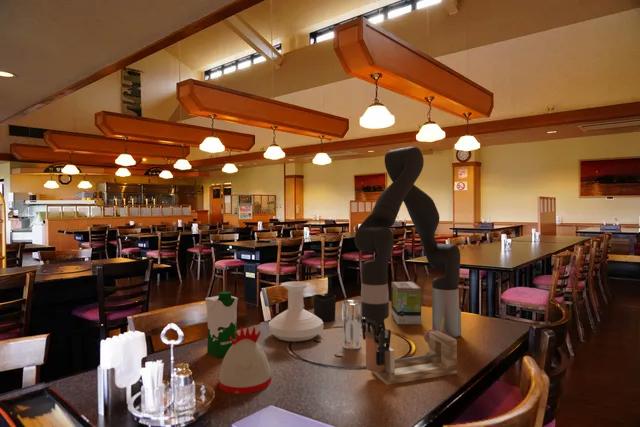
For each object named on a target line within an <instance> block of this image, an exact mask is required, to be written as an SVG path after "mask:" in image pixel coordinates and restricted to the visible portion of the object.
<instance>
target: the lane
mask: <svg viewBox="0 0 640 427" xmlns="http://www.w3.org/2000/svg"><path fill="white" fill-rule="evenodd" d="M457 341H458V340H457V339H456V338H452V337H450V336H448V335H446V334H444V333H442V332H439V331H431V332H429V345H428V348H429V349H428V350H429V353H428V355H430V354H437V353H441V357H435V358H428V359H421V360H414V361H408V362H401V363H395V373H393V374H387V373H386V372H384V371H380V372H373V371H371V373H372V374H373V375H375V376H376V377H377V378H378V379H379V380H380V381H382V382H383V383H384V384H385V386H388V385H394V384H395V385H396V384H400V383H406V382H413V381H419V380H424V379H431V378H438V377H442V376H450V375H451V376H452V375H455V374H457V373H458V351H457V350H458V346H457V345H458V342H457Z"/></svg>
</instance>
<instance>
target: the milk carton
mask: <svg viewBox="0 0 640 427" xmlns="http://www.w3.org/2000/svg"><path fill="white" fill-rule="evenodd" d="M204 299H205V305H206V315H207V316H206V319H207V320H206V323H207V324H206V325H207V328H206V329H207V343H206V344H207V348H206V350H207V351H206V352H207V354H209V355H211V356H213V357H216V358H217V359H220V358H224V357H225V355H226V353H227V351H228V350H229V348H230V347H231V346H232V345H233V343H232V342H231V339H230V337H231V338H232V339H233V340H236V339H237V338H236V334H235V332H237V333H238V331H237V330H238V328H237V322H238V321H237V307H238V301H239V298H238V297H236V296H232V291H231V290H230V291H228V290H225V291H219V292H218V295H215V296H211V297H209V296H208V297H205V298H204Z"/></svg>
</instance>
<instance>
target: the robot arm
mask: <svg viewBox="0 0 640 427" xmlns="http://www.w3.org/2000/svg"><path fill="white" fill-rule="evenodd" d="M424 160H425V159H424V155H423V153H422V150H421V149H420V148H419V147H417V146H407V147H402V148H397V149H396V148H395V149H392V150H388V151H387V152H386V153H385V156H384V166H385V170H386V173H387V174H388V176H389V178H390V181H392V182H391V184H390V185H389V186H387V187H386V188H385V189H384V190H383V191H382V192H381V193H380V195H379V196H378V197H377V199H376V202H375V204H374V206H373V208H372V210H371V213H370V214H368V216H367V217H366V218H365V219H364V220H363V221H362V223H361V224H360V225H359V227H358V228H357V229H356V232H355V234H354V244H355V247H356V248H357V249H358V250H359V252H363V253H376V256H375V258H374V259H371V260H367V261H363V262H362V264H361V287H360V288H361V289H360V302H361V315H362V318H361V332H362V339H363V340H364V343H366V336H365V331H367V332H368V331H370V332H371V333H372V335H373V342H374V343H375V347H376V364H377V365H378V366H380V365H384V364H385V351H389V347H390V346H391V337H392V336H391V335H392V331H391V329H387V328H386V323H385V320H386V319H387V318H389V316H390V304H389V303H390V298H389V297H390V294H389V293H390V292H389V284H388V283H389V282H388V281H389V280H388V278H389V277H388V274H389V273H388V269H389V263H390V258H391V254H392V250H393V246H394V243H395V242H394V240H395V237H394V234H393V231H392V229H390V228H392V227H393V226H394V225H395V222H396V220H397V217H398V214H399V212H400V209H401V208H402V207H401V206H402V205H403V203H404V205H405V208H406V209H407V212H408V215H409V217H410V219H411V221H412V224H413V226H414V227H415V230H416V233H417V234H418V238H419V239H420V240H419V241H420V242H421V245H422V248H423V251H424V255H425V257H426V261H427V263H428V264H429V266H430V267H431V268H434V269H439V270H445V274H444V275H443V276H440V277H436V278H433V279H432V281H431V282H432V283H431V289H432V290H431V295H432V296H431V297H432V298H431V299H432V301H431V303H432V304H431V306H432V307H431V308H432V310H431V311H432V312H431V313H432V315H431V316H432V320H431V321H432V325H431V326H432V327H431V328H432V329H431V330H434V329H440V328H441V322H442V318H443V316H444V323H443V329H442V330H444V331H446V332H447V333H448V334H450V336H451V337H452V338H454V339H456V338H458V337H459V336H462V309H461V308H459V307H460V306H459V298H460V297H459V294H460V293H459V290H460V288H459V286H460V284H459V283H460V278H461V277H460V274H461V271H460V270H461V251H460V248H459V246H458V245H457V244H451V243H439V242H438V241H437V239H436V237H435V233H436V230H437V229H438V226H439V223H440V213H439V211H438V208H437V206H436V204H435V201H434V199H432V198H433V197H431V196H430V195H428V194H427V193H426V192H425V191H424V190H422V189H421V188H419V187H418V186H417V185H416V184H415V183H416V182H417V179H419V176H420V175H421V173H422V171H423V168H424V164H425V162H424ZM376 335H377V336H379V335H380V339H376ZM378 343H379V344H378ZM385 344H386V345H385ZM390 348H391V347H390Z"/></svg>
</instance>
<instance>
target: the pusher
mask: <svg viewBox="0 0 640 427" xmlns="http://www.w3.org/2000/svg"><path fill="white" fill-rule="evenodd" d="M385 345H386V344H385ZM395 355H396V354H395V349H393V348H392V347H389V351H385V370H383V371H384V372H386V373H387V374H393V373H395V363H401V362H408V361H414V360H421V359H428V358H435V357H441V353H437V354H430V355H429V354H424V355H417V356H410V357H404V358H395Z"/></svg>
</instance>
